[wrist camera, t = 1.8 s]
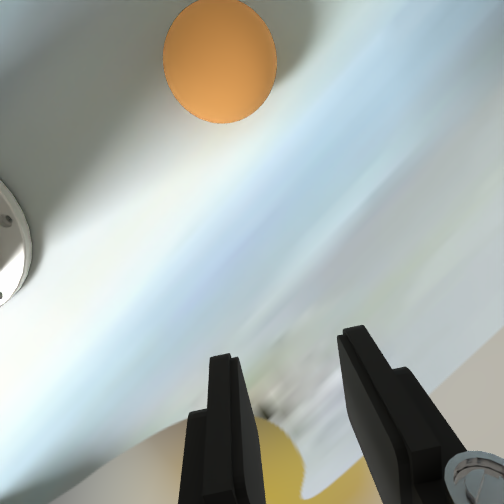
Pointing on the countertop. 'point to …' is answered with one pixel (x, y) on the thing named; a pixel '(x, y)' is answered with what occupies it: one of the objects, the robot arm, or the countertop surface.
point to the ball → (219, 60)
